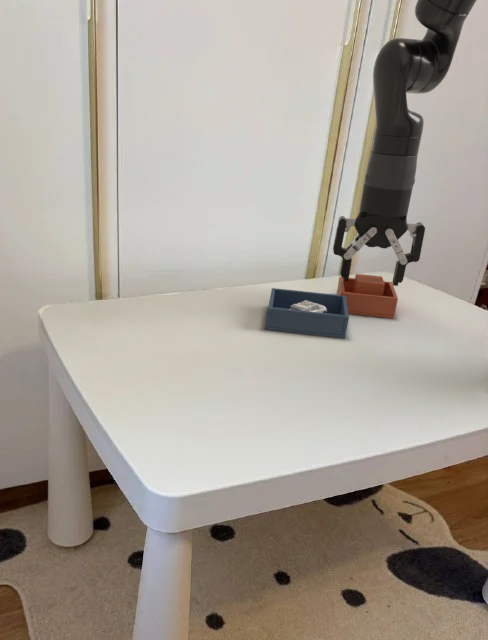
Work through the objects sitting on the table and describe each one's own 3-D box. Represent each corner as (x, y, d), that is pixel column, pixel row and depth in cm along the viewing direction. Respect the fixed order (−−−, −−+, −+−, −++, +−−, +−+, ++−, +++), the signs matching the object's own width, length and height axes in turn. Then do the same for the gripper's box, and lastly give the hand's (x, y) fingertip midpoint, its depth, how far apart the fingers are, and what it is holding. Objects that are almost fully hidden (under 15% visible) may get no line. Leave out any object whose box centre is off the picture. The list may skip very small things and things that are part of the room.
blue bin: (342, 315, 106) (345, 295, 104) (345, 338, 97) (348, 317, 95) (269, 307, 107) (271, 287, 106) (265, 329, 98) (268, 308, 97)
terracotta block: (377, 301, 112) (382, 276, 110) (379, 309, 108) (384, 284, 106) (351, 298, 112) (355, 273, 110) (352, 306, 108) (357, 281, 106)
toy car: (330, 317, 103) (333, 299, 102) (300, 328, 98) (303, 309, 97) (312, 310, 106) (315, 293, 104) (282, 321, 101) (284, 303, 99)
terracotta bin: (388, 300, 114) (392, 281, 112) (393, 318, 106) (398, 298, 104) (336, 295, 115) (339, 276, 113) (337, 312, 107) (341, 292, 105)
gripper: (431, 182, 103) (410, 280, 111) (342, 176, 105) (327, 272, 113) (439, 190, 96) (416, 293, 104) (344, 183, 98) (328, 284, 106)
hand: (370, 282), depth 108 cm, fingers open, 8 cm apart
